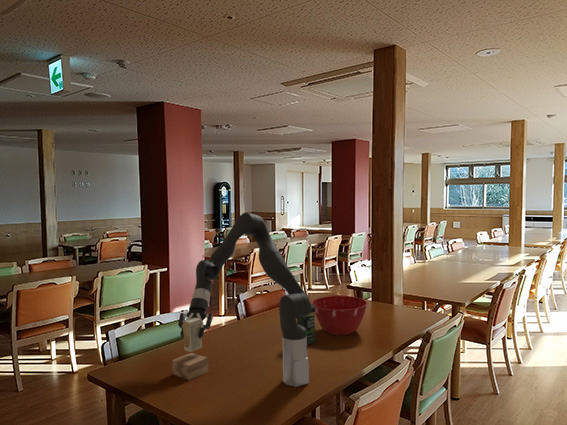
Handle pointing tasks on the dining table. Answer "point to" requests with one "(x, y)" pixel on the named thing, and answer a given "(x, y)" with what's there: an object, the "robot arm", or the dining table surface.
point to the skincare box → (192, 334)
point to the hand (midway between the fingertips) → (191, 337)
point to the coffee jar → (309, 325)
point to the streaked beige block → (190, 366)
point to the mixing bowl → (339, 313)
